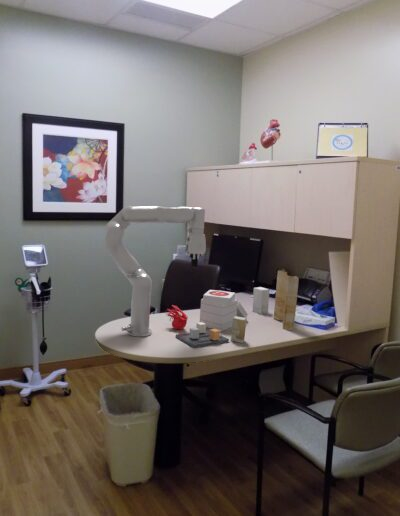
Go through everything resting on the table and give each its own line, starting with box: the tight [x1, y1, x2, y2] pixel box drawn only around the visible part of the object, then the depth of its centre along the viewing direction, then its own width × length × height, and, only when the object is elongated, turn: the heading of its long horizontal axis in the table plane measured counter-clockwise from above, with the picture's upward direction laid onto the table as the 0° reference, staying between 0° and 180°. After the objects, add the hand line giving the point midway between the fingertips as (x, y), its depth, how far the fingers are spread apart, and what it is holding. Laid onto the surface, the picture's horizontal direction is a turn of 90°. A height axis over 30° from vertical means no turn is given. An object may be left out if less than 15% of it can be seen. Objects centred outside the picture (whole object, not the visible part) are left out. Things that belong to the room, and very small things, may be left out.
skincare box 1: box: [230, 316, 248, 344], centre depth 241 cm, size 6×4×12 cm
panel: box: [175, 329, 230, 349], centre depth 240 cm, size 21×17×2 cm
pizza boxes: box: [199, 289, 249, 332], centre depth 270 cm, size 19×30×18 cm, turn 145°
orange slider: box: [209, 328, 221, 340], centre depth 237 cm, size 4×4×4 cm
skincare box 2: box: [252, 286, 270, 315], centre depth 298 cm, size 8×7×16 cm
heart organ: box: [165, 304, 189, 331], centre depth 254 cm, size 10×12×12 cm
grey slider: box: [188, 326, 200, 339], centre depth 237 cm, size 4×4×4 cm
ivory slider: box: [195, 321, 207, 333], centre depth 247 cm, size 4×4×4 cm
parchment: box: [273, 269, 299, 331], centre depth 275 cm, size 23×6×30 cm, turn 8°
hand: (194, 266), depth 247 cm, fingers closed
